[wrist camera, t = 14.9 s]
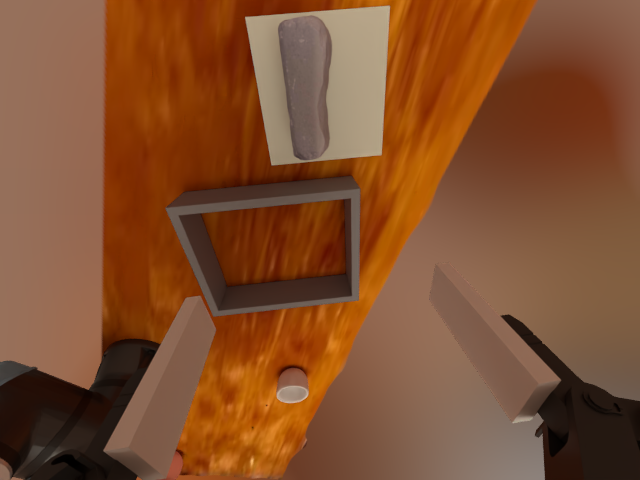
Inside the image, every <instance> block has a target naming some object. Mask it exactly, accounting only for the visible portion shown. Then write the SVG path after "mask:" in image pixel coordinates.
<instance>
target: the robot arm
mask: <svg viewBox="0 0 640 480" xmlns="http://www.w3.org/2000/svg"><path fill="white" fill-rule="evenodd" d="M429 300H430V302H431V303H432V305H433V306H434V308H435V309H436V311H437V312H438V314H439V315H440V316H441V318H442V320H443V321H444V323H445V324H446V326H447V327H448V329H449V330H450V331H451V333H452V335H454V337H455V339H456V340H457V342H458V343H459V345H460V346H461V348H462V349H463V351H464V352H465V354H466V355H467V357H468V358H469V360H470V361H471V363H472V364H473V366H474V367H475V369H476V370H477V372H478V373H479V375H480V376H481V378H482V379H483V381H484V382H485V384H486V385H487V386H488V388H489V389H490V391H491V392H492V394H493V395H494V397H495V398H496V400H497V401H498V403H499V404H500V406H501V407H502V409H503V410H504V412H505V413H506V415H507V416H508V418H509V419H510V420H511V422H512V423H516V422H523V421H529V420H532V419H533V417H534V416H535V414H536V413H537V412H538V413H539V415H540V416H541V418H542V419H543V420H544V421H543V423H542V424H541V425H540V426H539V428H538V429H537V430H536V433H535V436H536V437H540V435H541V434H542V433H543V449H544V467H545V480H640V401H635V400H629V399H624V398H618V397H614V396H612V395H611V394H609V393H608V392H606V391H605V390H603V389H601V388H599V387H597V386H595V385H592V384H588V383H584V382H583V381H582V380H581V379H580V378H579V377H577V376H576V375H575V374H574V373H573V372H572V371H571V370H570V369H569V368H568V367H567V366H566V365H565V364H564V363H563V362H562V361H561V360H560V359H559V358H558V357H557V356H556V355H555V354H554V353H553V352H552V351H551V350H550V349H549V348H548V347H547V346H546V345H545V344H542V341H541V340H540V339H538V338H537V337H536V336H535V335H533V333H532V332H531V331H530V330H529V329H528V328H527V327H526V326H525V325H524V324H523V323H522V322H520V321H519V320H517V319H516V318H514V317H512V316H511V315H502V316H500V315H499V314H498V313H497V312H496V311H495V310H494V309H493V308H492V307H491V306H490V305H489V304H488V303H487V302H486V301H485V299H484V298H483V297H482V296H481V295H480V294H479V293H478V292H477V291H476V290H475V289H474V288H473V287H472V286H471V285H470V284H469V283H468V282H467V280H465V278H464V277H463V276H462V275H461V274H460V273H459V272H458V271H457V270H456V269H455V268H454V267H453V266H452V265H451V264H450V263H449V262H445V263H438V264H435V270H434V275H433V280H432V286H431V291H430V297H429ZM215 332H216V328H215V326H214V324H213V322H212V320H211V317H210V315H209V313H208V311H207V309H206V307H205V305H204V303H203V301H202V298H201V296H195V297H188V298H186V299H185V301H184V302H183V304H182V306H181V308H180V310H179V312H178V313H177V315H176V317H175V319H174V321H173V323H172V325H171V326H170V328H169V330H168V332H167V334H166V336H165V338H164V339H163V341H162V343H161V344H158V343H156V342H152V341H148V340H142V339H125V340H120V341H117V342H115V343H113V344H111V345H110V346H109V347H108V348H107V350H106V351H105V352H104V354H103V357H102V362H101V364H100V366H99V369H98V372H97V375H96V378H95V381H94V383H93V384H92V386H91V387H90V389H89V390H87V389H85V388H82V387H80V386H77V385H74V384H72V383H69V382H67V381H64V380H62V379H59V378H57V377H54V376H52V375H49V374H47V373H44V372H41V371H39V370H37V368H36V367H29V366H26V365H23V364H20V363H17V362H14V361H3V362H0V480H11V478H12V477H16V478H21V479H23V480H136V478H137V476H138V477H139V478H141V479H142V480H159V479H166V478H167V475H168V472H169V469H170V466H171V463H172V460H173V457H174V454H175V451H176V448H177V445H178V442H179V439H180V436H181V433H182V430H183V427H184V424H185V421H186V418H187V415H188V412H189V409H190V406H191V403H192V400H193V397H194V394H195V391H196V388H197V385H198V382H199V379H200V376H201V373H202V370H203V367H204V364H205V361H206V358H207V355H208V352H209V349H210V346H211V343H212V340H213V337H214V335H215Z"/></svg>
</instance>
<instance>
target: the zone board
mask: <svg viewBox="0 0 640 480" xmlns="http://www.w3.org/2000/svg"><path fill="white" fill-rule="evenodd" d="M389 13H390V6H379V7H367V8H354V9H342V10H329V11H316V12H304V13H291V14H279V15H266V16H254V17H245V19H246V24H247V30H248V36H249V41H250V47H251V53H252V58H253V64H254V69H255V75H256V81H257V86H258V92H259V98H260V103H261V109H262V115H263V120H264V126H265V131H266V137H267V143H268V148H269V154H270V160H271V165H282V164H292V163H303V162H313V161H324V160H334V159H345V158H355V157H365V156H376V155H382V139H383V121H384V103H385V85H386V67H387V49H388V31H389ZM310 15H312V16H316V17H318V18H319V19H321V20H322V21H323V22H324V24H325V26H326V27H327V29H328V30H329V33H330V36H331V41H332V56H331V65H330V68H329V83H328V89H327V93H326V104H327V109H328V127H329V133H330V140H329V147H328V149H327V150H326V151H325V152H324V153H323V154H322V156H321V157H319V158H317V159H313V160H300V159H299V158H296V157H295V156H294V154H293V147H292V140H291V133H290V118H289V113H288V108H287V96H286V88H285V81H284V74H283V67H282V59H281V52H280V43H279V35H278V27H279V24H280V23H281V22H282V21H284V20H288V19H292V18H297V17H302V16H310Z"/></svg>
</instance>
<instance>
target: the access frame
mask: <svg viewBox="0 0 640 480" xmlns="http://www.w3.org/2000/svg"><path fill="white" fill-rule="evenodd" d="M339 199H344V203H345V245H346V274H343V275H333V276H324V277H315V278H306V279H296V280H287V281H278V282H268V283H259V284H250V285H241V286H231V287H227V285H226V282H225V279H224V277H223V274H222V271H221V268H220V266H219V263H218V260H217V257H216V255H215V252H214V249H213V247H212V244H211V241H210V238H209V236H208V233H207V230H206V227H205V225H204V222H203V219H202V217H201V214H200V213H208V212H218V211H228V210H238V209H249V208H259V207H269V206H279V205H289V204H299V203H309V202H319V201H329V200H339ZM166 211H167V213H168V215H169V217H170V220H171V222H172V224H173V226H174V229H175V231H176V233H177V235H178V238H179V240H180V242H181V244H182V247H183V249H184V251H185V253H186V256H187V258H188V260H189V262H190V265H191V267H192V269H193V271H194V274H195V276H196V278H197V281H198V283H199V285H200V287H201V290H202V292H203V294H204V296H205V299H206V301H207V303H208V305H209V308H210V310H211V312H212V314H213V316H222V315H231V314H241V313H250V312H259V311H268V310H277V309H286V308H295V307H304V306H313V305H322V304H331V303H340V302H349V301H358V300H359V245H360V188H359V186H358V185H357V183H356V182H355V180H354V179H353V177H352V176H343V177H333V178H323V179H313V180H302V181H292V182H282V183H272V184H261V185H251V186H241V187H230V188H220V189H210V190H200V191H189V192H184V193H182V194H181V195H180V196H179V197H178V198H177V199H175V200H174V201H173V202H172V203H171V204H170V205H168V206H167V207H166Z"/></svg>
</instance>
